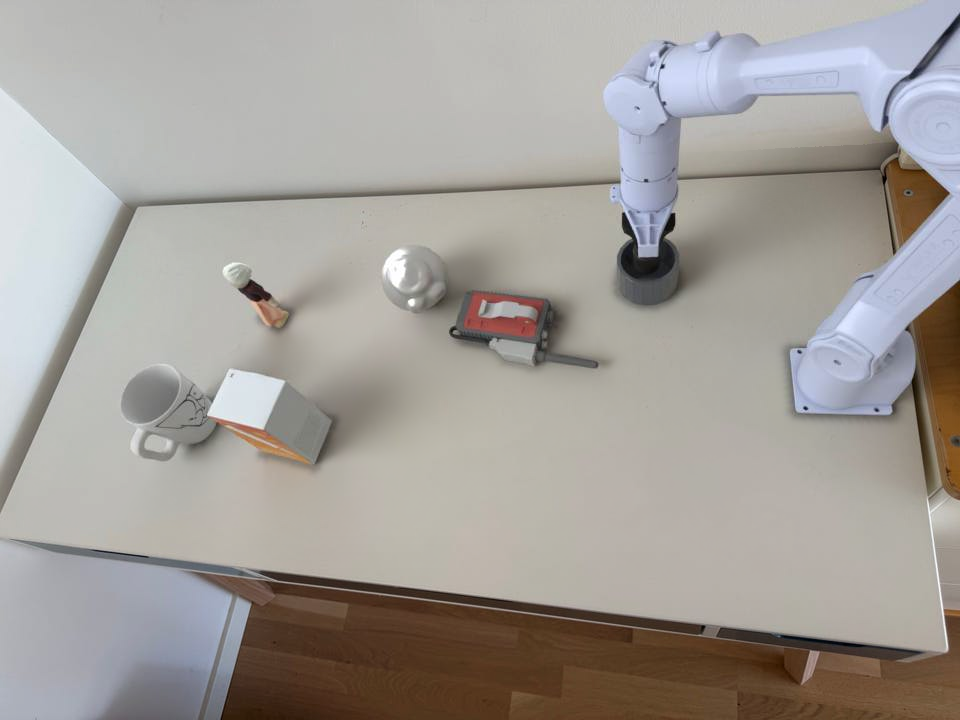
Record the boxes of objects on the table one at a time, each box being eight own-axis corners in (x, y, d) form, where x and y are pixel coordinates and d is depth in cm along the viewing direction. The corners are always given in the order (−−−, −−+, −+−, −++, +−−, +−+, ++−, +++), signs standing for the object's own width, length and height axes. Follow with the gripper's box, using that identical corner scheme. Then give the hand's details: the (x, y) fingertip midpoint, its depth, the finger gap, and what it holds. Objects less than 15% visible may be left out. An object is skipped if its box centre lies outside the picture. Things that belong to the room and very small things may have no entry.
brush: (660, 252, 81) (662, 199, 72) (660, 274, 79) (662, 222, 71) (633, 253, 82) (632, 200, 73) (633, 274, 80) (632, 223, 72)
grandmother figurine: (250, 323, 95) (199, 274, 84) (263, 301, 97) (215, 250, 86) (293, 335, 93) (246, 286, 82) (305, 312, 94) (261, 261, 83)
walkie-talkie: (446, 353, 86) (597, 378, 79) (437, 337, 82) (595, 361, 76) (465, 297, 89) (611, 316, 83) (457, 279, 85) (610, 298, 79)
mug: (195, 480, 85) (144, 456, 76) (147, 463, 88) (93, 437, 79) (236, 402, 89) (193, 371, 81) (189, 388, 92) (142, 356, 84)
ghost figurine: (387, 326, 90) (360, 287, 81) (401, 269, 94) (376, 226, 85) (449, 328, 87) (428, 288, 79) (461, 269, 91) (442, 225, 83)
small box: (262, 452, 85) (204, 415, 74) (282, 408, 87) (228, 366, 76) (315, 466, 82) (263, 430, 71) (334, 421, 85) (286, 378, 73)
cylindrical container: (676, 256, 85) (678, 232, 80) (677, 305, 81) (679, 283, 77) (618, 258, 86) (617, 235, 82) (617, 306, 83) (616, 284, 79)
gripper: (610, 111, 69) (615, 196, 81) (606, 220, 63) (611, 295, 75) (679, 105, 68) (674, 193, 79) (682, 216, 61) (675, 294, 73)
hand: (648, 242), depth 77 cm, fingers closed on brush, 2 cm apart
